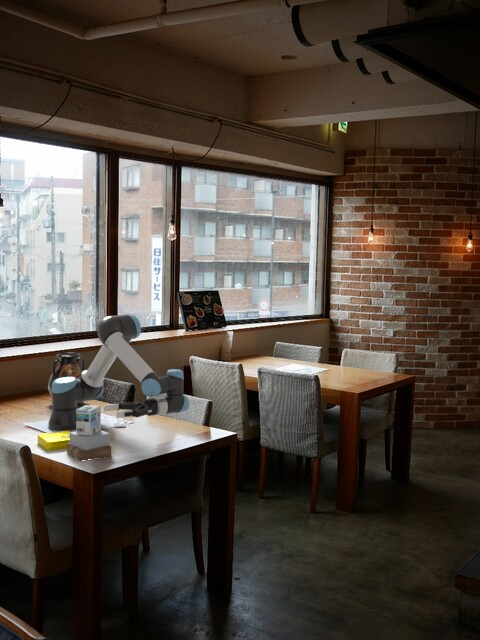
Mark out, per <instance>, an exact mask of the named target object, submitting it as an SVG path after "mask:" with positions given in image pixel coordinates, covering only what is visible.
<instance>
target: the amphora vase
mask: <svg viewBox="0 0 480 640" xmlns="http://www.w3.org/2000/svg"><path fill="white" fill-rule="evenodd" d="M55 356H56V357H57V358H58V359H55V360H54V361H53V363H52V366H51V372H52V373H51V374H50V377H49V380H48V385H47V386H48V387H47V389H48V392H49V394H50V396H51V397H52V383H53V381H54V380H56V379H58V378H62V377H75V378H76V379H78V378H79V377H80V376H81V374H82V372H83V371H85V360H84V359H83V358H82V357H81V354H80V353H77V352H60V353H57V354H56V355H55ZM79 361H80V364H81V367H80V366H79ZM57 363H58V366H57V367H56V365H57ZM84 403H85V401H84V402H79V403H77V407H80V406H81V405H83V404H84Z"/></svg>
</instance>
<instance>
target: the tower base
mask: <svg viewBox="0 0 480 640" xmlns="http://www.w3.org/2000/svg"><path fill="white" fill-rule="evenodd" d="M66 455H69V456H70V455H71V456H70V457H71V458H73V457H74V458H73V459H75V458H76V459H77V460H79V461H82V460H88V459H95V458H102V459H105V458H104V457H108V458H111V457H112V446H111V444H110V445H107V446H103V447H98V448H94V449H89V450H84V449H81V448H78V447H76V446H73V445H70V444H69V443H67V449H66ZM76 459H75V460H76ZM77 460H76V461H77ZM95 460H96V459H95ZM79 461H78V462H79Z"/></svg>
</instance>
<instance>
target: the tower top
mask: <svg viewBox="0 0 480 640" xmlns="http://www.w3.org/2000/svg"><path fill="white" fill-rule="evenodd" d="M69 444H70V445H73V446H76V447H78V448H81V449H84V450H89V449H94V448H98V447H103V446H107V445H110V446H111V434H110V432H107V431H104V430H100V431H98V432H97V433H95V434H93V435H91V436H87V435H76V430H75V431H70V433H69Z"/></svg>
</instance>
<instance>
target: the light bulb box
mask: <svg viewBox="0 0 480 640" xmlns="http://www.w3.org/2000/svg"><path fill="white" fill-rule="evenodd" d="M101 408H102V407H101V405H96V404H94V405H93V404H91V405H90V404H86V405H83V406H81V407H79V408H77V410H76V430H75V431H76V435H87V436H91V435H93V434H95V433H97V432H98V431H100V430H101V429H102V428H101V423H102V422H101V416H102V415H101V414H102V413H101V411H102V410H101ZM101 431H102V430H101Z"/></svg>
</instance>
